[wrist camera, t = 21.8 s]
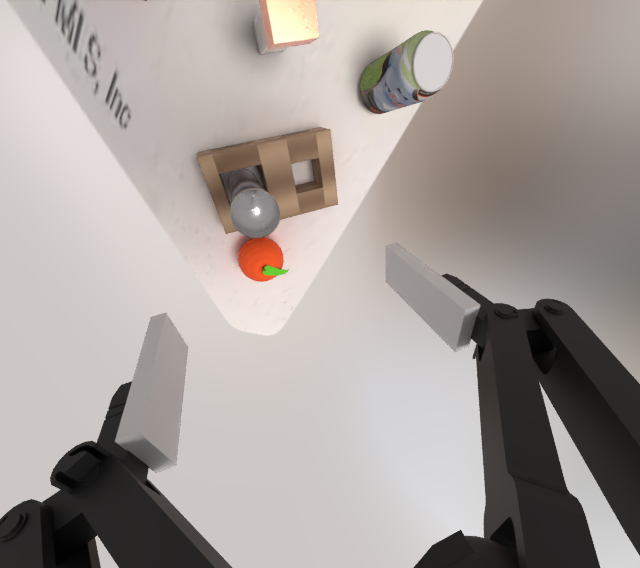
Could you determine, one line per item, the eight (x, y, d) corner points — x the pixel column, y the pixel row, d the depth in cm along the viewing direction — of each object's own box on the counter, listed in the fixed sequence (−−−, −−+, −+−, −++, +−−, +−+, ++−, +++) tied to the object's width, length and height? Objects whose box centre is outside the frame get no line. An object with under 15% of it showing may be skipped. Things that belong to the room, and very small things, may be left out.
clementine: (290, 237, 45) (301, 256, 40) (277, 272, 48) (286, 294, 43) (242, 225, 42) (247, 244, 36) (232, 263, 45) (235, 286, 39)
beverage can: (356, 115, 39) (403, 118, 29) (356, 48, 34) (411, 26, 25) (395, 111, 40) (451, 112, 31) (399, 45, 36) (467, 24, 26)
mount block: (198, 152, 35) (196, 157, 32) (320, 127, 38) (330, 129, 35) (224, 223, 41) (226, 233, 38) (329, 197, 44) (338, 204, 41)
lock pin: (245, 15, 30) (261, -27, 20) (280, 11, 30) (311, -32, 21) (255, 62, 32) (274, 43, 22) (288, 57, 33) (319, 37, 23)
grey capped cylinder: (220, 169, 37) (223, 196, 26) (255, 161, 38) (273, 184, 27) (232, 204, 40) (239, 243, 29) (265, 196, 41) (284, 231, 30)
